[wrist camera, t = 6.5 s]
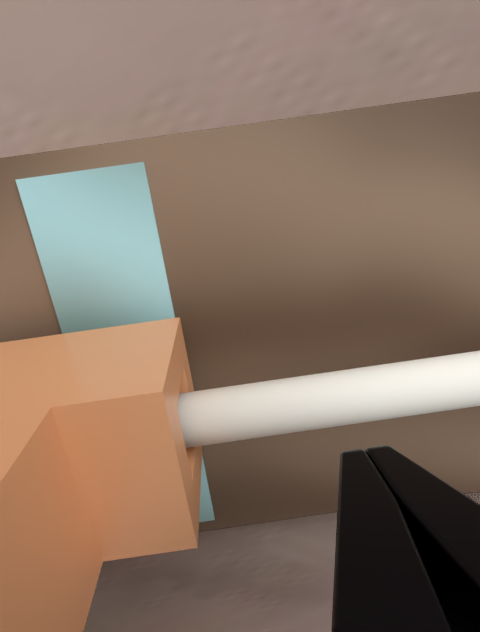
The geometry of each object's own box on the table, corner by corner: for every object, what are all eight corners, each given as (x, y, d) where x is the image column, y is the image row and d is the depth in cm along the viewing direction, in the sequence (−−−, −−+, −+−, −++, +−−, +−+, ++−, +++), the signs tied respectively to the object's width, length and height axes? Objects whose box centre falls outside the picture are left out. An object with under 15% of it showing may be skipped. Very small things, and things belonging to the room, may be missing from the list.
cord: (790, 340, 10) (862, 362, 9) (-21, 456, 10) (-50, 493, 9) (808, 293, 10) (885, 311, 9) (-38, 414, 10) (-72, 448, 9)
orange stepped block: (203, 436, 12) (187, 766, 5) (25, 461, 12) (-205, 824, 5) (179, 317, 10) (123, 562, 4) (-20, 345, 10) (-392, 636, 4)
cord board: (621, 436, 15) (665, 466, 14) (-2, 527, 15) (-25, 566, 14) (708, 64, 11) (784, 49, 10) (-153, 183, 11) (-211, 187, 9)
